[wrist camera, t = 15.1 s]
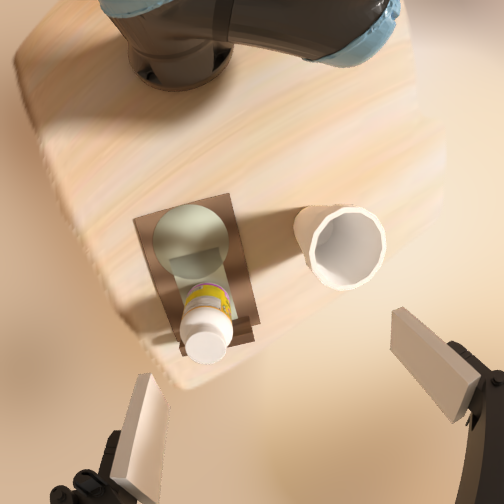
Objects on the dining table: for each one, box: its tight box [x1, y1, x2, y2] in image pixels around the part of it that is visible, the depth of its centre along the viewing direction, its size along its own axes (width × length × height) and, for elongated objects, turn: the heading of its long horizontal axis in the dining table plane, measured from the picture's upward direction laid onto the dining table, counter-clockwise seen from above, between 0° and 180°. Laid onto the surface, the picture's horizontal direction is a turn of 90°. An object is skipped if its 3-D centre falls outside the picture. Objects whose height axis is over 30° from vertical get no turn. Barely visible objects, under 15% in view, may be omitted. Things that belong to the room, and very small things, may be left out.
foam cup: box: [293, 204, 387, 291], centre depth 36 cm, size 10×9×13 cm
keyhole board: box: [135, 193, 261, 356], centre depth 39 cm, size 21×14×5 cm, turn 12°
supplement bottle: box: [180, 282, 233, 364], centre depth 37 cm, size 7×7×13 cm
